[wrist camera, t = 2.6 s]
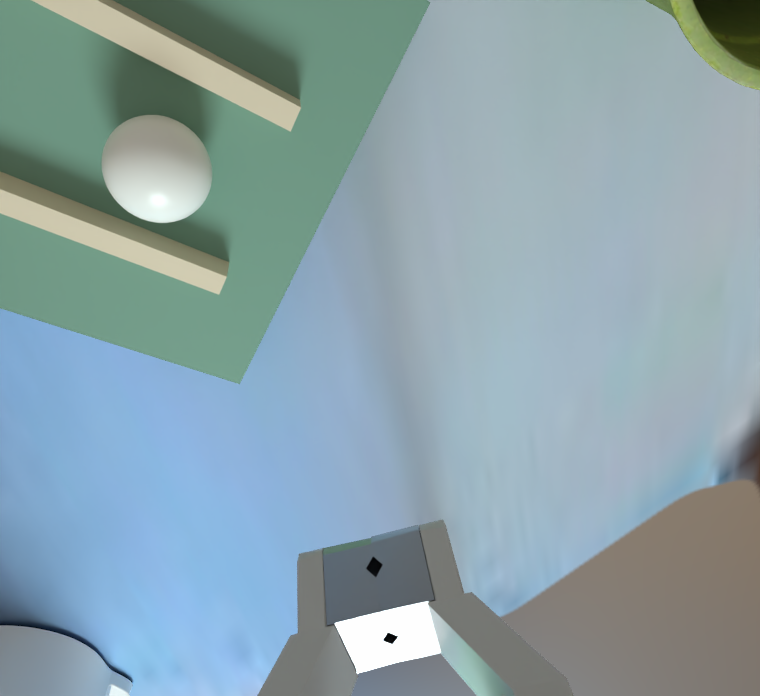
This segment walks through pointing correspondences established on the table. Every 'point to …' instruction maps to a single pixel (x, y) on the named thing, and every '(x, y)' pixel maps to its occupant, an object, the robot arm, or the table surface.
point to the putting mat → (217, 133)
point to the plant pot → (722, 34)
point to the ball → (156, 168)
